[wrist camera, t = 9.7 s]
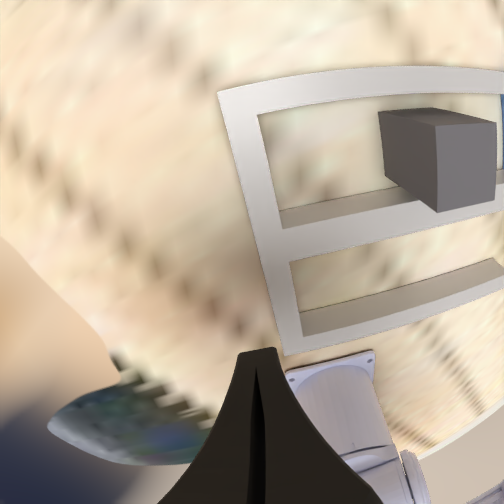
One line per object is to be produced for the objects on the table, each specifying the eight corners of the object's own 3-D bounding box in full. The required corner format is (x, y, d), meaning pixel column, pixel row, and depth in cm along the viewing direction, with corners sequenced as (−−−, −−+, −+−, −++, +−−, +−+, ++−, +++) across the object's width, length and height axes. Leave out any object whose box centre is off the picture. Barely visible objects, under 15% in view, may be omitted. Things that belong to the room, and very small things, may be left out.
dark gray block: (436, 167, 17) (494, 200, 12) (384, 175, 18) (437, 213, 12) (432, 107, 15) (496, 123, 10) (377, 111, 16) (435, 126, 10)
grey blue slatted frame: (500, 267, 21) (525, 292, 18) (280, 332, 23) (287, 372, 20) (509, 73, 13) (547, 79, 10) (219, 92, 15) (214, 91, 11)
